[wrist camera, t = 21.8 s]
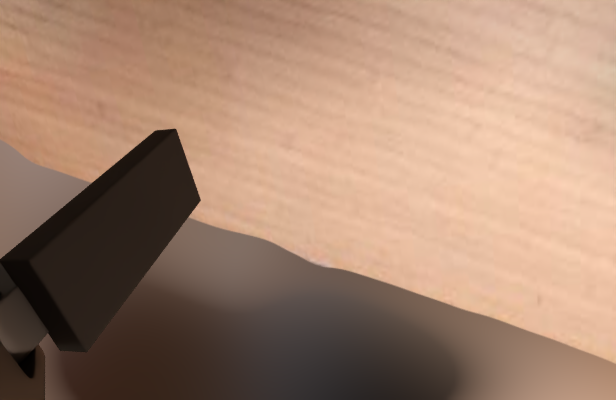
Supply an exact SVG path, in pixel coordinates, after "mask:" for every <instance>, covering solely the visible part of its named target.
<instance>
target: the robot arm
mask: <svg viewBox="0 0 616 400" xmlns="http://www.w3.org/2000/svg"><path fill="white" fill-rule="evenodd" d="M200 201H201V199H200V197H199V194H198V191H197V188H196V185H195V182H194V179H193V176H192V173H191V171H190V168H189V165H188V162H187V159H186V156H185V153H184V150H183V147H182V145H181V142H180V139H179V136H178V133H177V130H176V129H167V130H156V131H154V132H153V133H152V134H151V135H149V136H148V137H147V138H146V139H145V140H143V141H142V142H141V143H140V144H139V145H137V146H136V147H135V148H134V149H133V150H131V151H130V152H129V153H128V154H127V155H125V156H124V157H123V158H122V159H121V160H119V161H118V162H117V163H116V164H115V165H113V166H112V167H111V168H110V169H108V170H107V171H106V172H105V173H104V174H102V175H101V176H100V177H99V178H98V179H96V180H95V181H94V182H93V183H92V184H90V185H89V186H88V187H87V188H86V189H84V190H83V191H82V192H81V193H80V194H78V195H77V196H76V197H75V198H73V199H72V200H71V201H70V202H69V203H67V204H66V205H65V206H64V207H63V208H61V209H60V210H59V211H58V212H57V213H55V214H54V215H53V216H52V217H51V218H49V219H48V220H47V221H46V222H45V223H43V224H42V225H41V226H40V227H39V228H37V229H36V230H35V231H34V232H32V233H31V234H30V235H29V236H28V237H26V238H25V239H24V240H23V241H22V242H21V243H19V244H18V245H17V246H16V247H14V248H13V249H12V250H11V251H10V252H8V253H7V254H6V255H5V256H3V257H2V258H1V259H0V400H45V355H44V352H43V350H42V349H41V348H40V346H39V342H40V341H41V340H42V339H43V338H44V337H45V336H46V334H47V333H48V334H49V335H50V336H51V338H52V339H53V341H54V342H55V344H56V345H57V347H58V348H59V350H60V351H75V352H88V350H89V349H90V348H91V346H92V345H93V343H94V342H95V341H96V340H97V338H98V337H99V335H100V334H101V333H102V332H103V330H104V329H105V328H106V326H107V325H108V323H109V322H110V321H111V319H112V318H113V317H114V315H115V314H116V313H117V311H118V310H119V309H120V307H121V306H122V305H123V303H124V302H125V301H126V299H127V298H128V297H129V295H130V294H131V293H132V291H133V290H134V289H135V287H136V286H137V285H138V283H139V282H140V281H141V279H142V278H143V277H144V275H145V274H146V273H147V271H148V270H149V269H150V267H151V266H152V265H153V263H154V262H155V261H156V259H157V258H158V257H159V255H160V254H161V253H162V251H163V250H164V249H165V247H166V246H167V245H168V243H169V242H170V241H171V239H172V238H173V237H174V235H175V234H176V233H177V231H178V230H179V229H180V227H181V226H182V225H183V223H184V222H185V221H186V219H187V218H188V217H189V215H190V214H191V213H192V211H193V210H194V209H195V207H196V206H197V205H198V203H199V202H200Z"/></svg>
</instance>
